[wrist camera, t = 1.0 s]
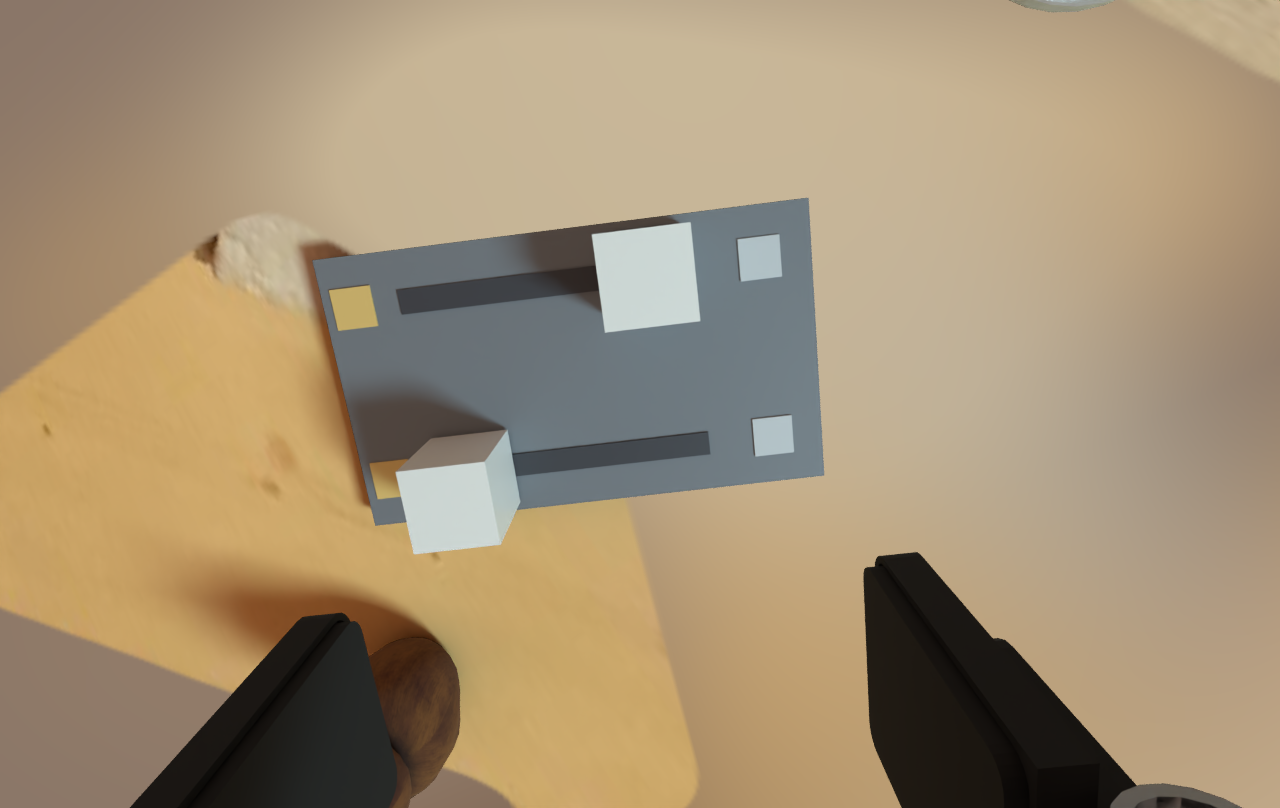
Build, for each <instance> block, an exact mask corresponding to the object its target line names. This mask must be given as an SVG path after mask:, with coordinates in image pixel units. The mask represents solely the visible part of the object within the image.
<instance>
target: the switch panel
mask: <svg viewBox="0 0 1280 808" xmlns="http://www.w3.org/2000/svg"><path fill="white" fill-rule="evenodd" d="M808 200H809V199H808V198H802V199H794V200H786V201H778V202H770V203H762V204H754V205H746V206H739V207H731V208H723V209H715V210H707V211H699V212H691V213H683V214H676V215H667V216H659V217H651V218H644V219H636V220H628V221H620V222H612V223H604V224H596V225H588V226H580V227H573V228H564V229H557V230H549V231H541V232H534V233H525V234H517V235H510V236H501V237H493V238H486V239H478V240H470V241H462V242H454V243H447V244H438V245H431V246H423V247H414V248H407V249H399V250H391V251H383V252H375V253H367V254H359V255H351V256H343V257H335V258H327V259H319V260H312V261H313V265H314V269H315V274H316V278H317V282H318V286H319V290H320V295H321V299H322V303H323V307H324V312H325V316H326V320H327V324H328V328H329V333H330V337H331V341H332V345H333V349H334V354H335V358H336V362H337V366H338V370H339V375H340V379H341V383H342V387H343V392H344V396H345V400H346V404H347V408H348V413H349V417H350V421H351V425H352V429H353V434H354V438H355V442H356V446H357V450H358V455H359V459H360V463H361V467H362V472H363V476H364V480H365V484H366V488H367V493H368V497H369V501H370V505H371V509H372V514H373V518H374V522H375V526H376V525H385V524H394V523H403V522H407V521H406V517H405V512H404V508H403V503H402V499H401V494H400V490H399V486H398V481H397V477H396V471H397V470H398V469H399V468H400V467H401V466H402V465H403V464H404V463H405V462H406V461H408V460H409V459H410V458H411V457H412V456H413V455H414V454H415V453H416V452H417V451H418V450H419V449H420V448H421V447H422V446H423V445H424V444H426V443H427V442H428V441H429V440H430V439H431V438H439V437H448V436H456V435H465V434H473V433H482V432H491V431H499V430H508V435H509V441H510V446H511V452H512V458H513V463H514V469H515V474H516V480H517V486H518V491H519V497H520V504H519V506H518V508H517V510H519V509H528V508H537V507H546V506H555V505H564V504H573V503H582V502H591V501H600V500H609V499H618V498H627V497H636V496H645V495H653V494H661V493H671V492H680V491H689V490H698V489H707V488H716V487H724V486H734V485H743V484H752V483H760V482H770V481H779V480H788V479H796V478H805V477H814V476H823V475H824V463H823V446H822V428H821V411H820V393H819V375H818V358H817V340H816V323H815V307H814V288H813V271H812V252H811V235H810V217H809V201H808ZM687 222H691V231H692V241H693V251H694V261H695V272H696V282H697V292H698V302H699V312H700V321H698V322H690V323H681V324H673V325H665V326H656V327H648V328H640V329H632V330H623V331H615V332H607V333H605V329H604V322H603V314H602V307H601V299H600V292H599V285H598V277H597V270H596V262H595V255H594V248H593V240H592V234H600V233H608V232H615V231H623V230H631V229H639V228H647V227H655V226H663V225H671V224H679V223H687Z"/></svg>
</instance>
